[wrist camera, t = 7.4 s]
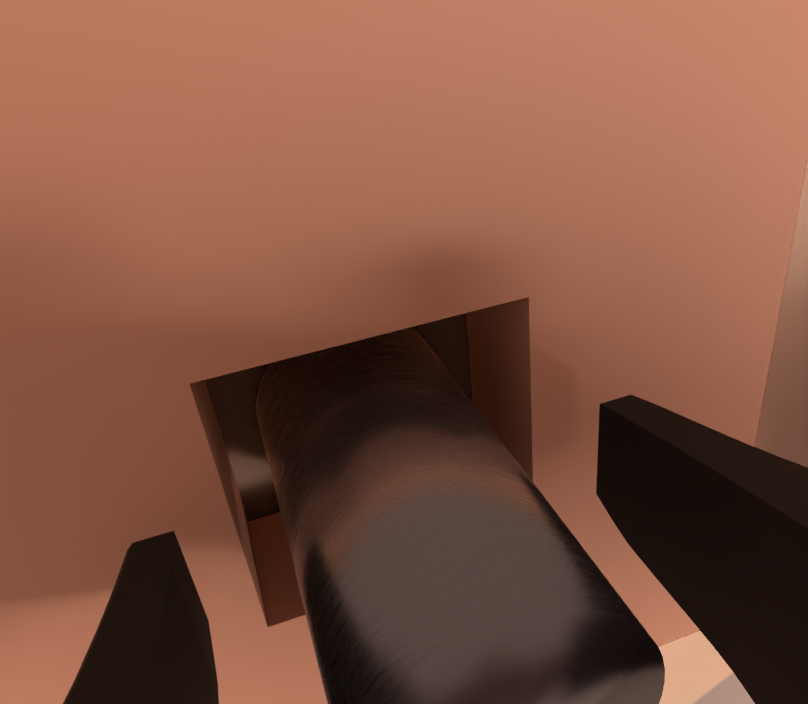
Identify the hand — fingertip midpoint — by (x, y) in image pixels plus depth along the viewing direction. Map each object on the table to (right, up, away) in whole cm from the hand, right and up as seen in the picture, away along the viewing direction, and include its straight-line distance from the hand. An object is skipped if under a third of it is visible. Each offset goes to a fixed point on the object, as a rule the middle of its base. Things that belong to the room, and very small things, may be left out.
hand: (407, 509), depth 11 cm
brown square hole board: (-1, +2, +3) cm, 4 cm away
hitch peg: (-1, +2, +3) cm, 4 cm away
